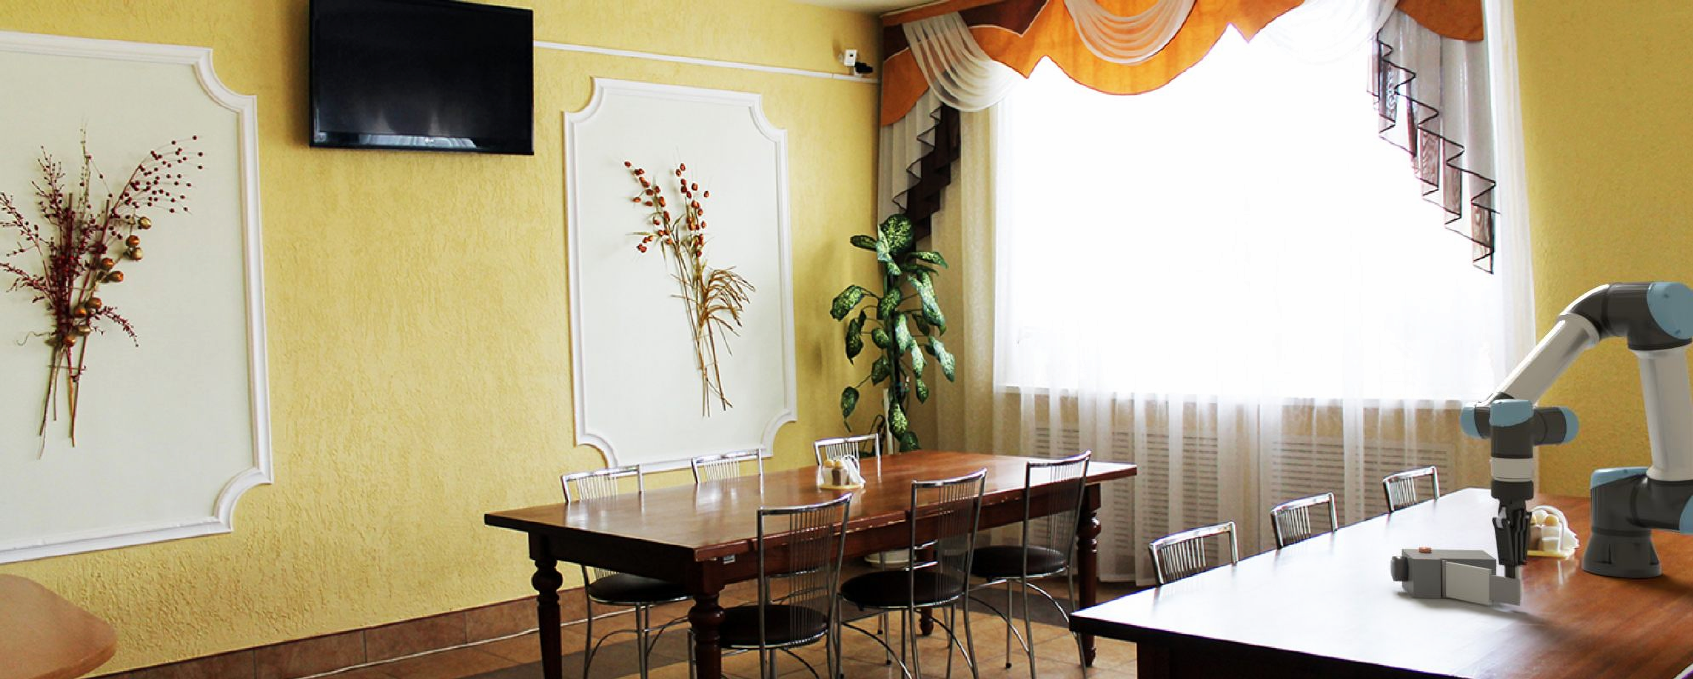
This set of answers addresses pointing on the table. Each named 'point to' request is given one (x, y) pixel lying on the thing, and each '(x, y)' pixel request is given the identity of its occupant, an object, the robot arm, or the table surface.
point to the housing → (1433, 568)
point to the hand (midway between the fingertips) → (1513, 598)
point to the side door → (1478, 585)
